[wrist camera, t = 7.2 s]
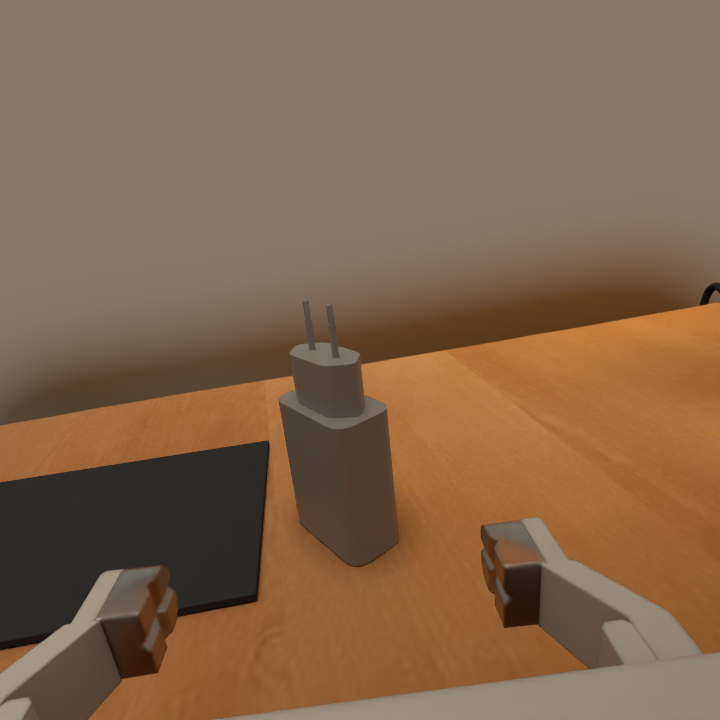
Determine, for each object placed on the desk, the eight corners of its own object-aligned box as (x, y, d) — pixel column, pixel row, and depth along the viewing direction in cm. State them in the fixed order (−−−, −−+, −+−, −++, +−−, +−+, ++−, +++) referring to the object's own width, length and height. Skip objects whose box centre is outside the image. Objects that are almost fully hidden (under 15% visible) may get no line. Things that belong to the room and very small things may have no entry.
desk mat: (269, 445, 34) (268, 440, 34) (256, 601, 21) (255, 594, 21) (-31, 492, 32) (-33, 487, 32) (-251, 697, 19) (-257, 689, 19)
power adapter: (339, 492, 28) (311, 288, 24) (405, 537, 24) (385, 300, 20) (293, 518, 26) (255, 302, 22) (356, 571, 22) (323, 318, 18)
